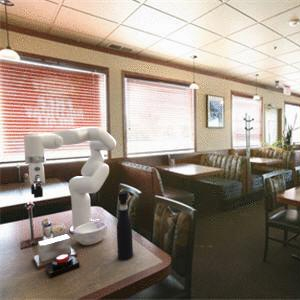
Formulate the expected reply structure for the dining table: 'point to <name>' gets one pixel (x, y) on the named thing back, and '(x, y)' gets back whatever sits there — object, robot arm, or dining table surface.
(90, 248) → the dining table surface
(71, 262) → the control block
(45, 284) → the dining table surface
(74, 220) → the robot arm
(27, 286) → the dining table surface
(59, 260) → the button
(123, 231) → the wine bottle
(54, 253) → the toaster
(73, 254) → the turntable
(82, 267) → the dining table surface
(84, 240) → the white round bowl
